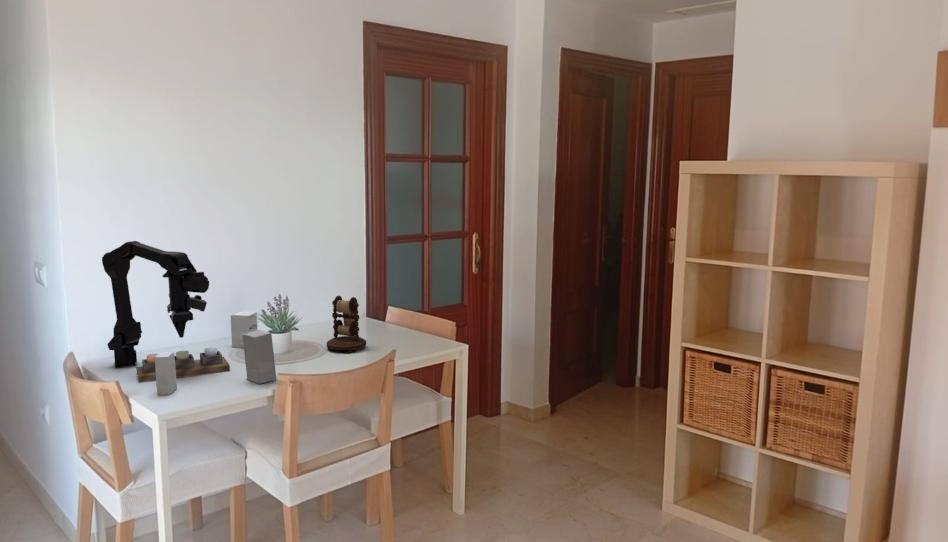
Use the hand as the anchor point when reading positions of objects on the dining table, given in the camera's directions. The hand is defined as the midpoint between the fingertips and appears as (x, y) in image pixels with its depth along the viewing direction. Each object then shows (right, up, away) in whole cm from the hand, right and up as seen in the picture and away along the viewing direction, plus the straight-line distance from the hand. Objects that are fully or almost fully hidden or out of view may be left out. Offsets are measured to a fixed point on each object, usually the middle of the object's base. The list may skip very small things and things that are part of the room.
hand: (181, 337), depth 247 cm
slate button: (+8, -7, +5) cm, 12 cm away
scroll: (+50, -7, +32) cm, 59 cm away
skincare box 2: (+28, -14, -7) cm, 32 cm away
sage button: (0, -8, +1) cm, 8 cm away
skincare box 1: (+3, -15, -19) cm, 24 cm away
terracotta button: (-8, -9, -3) cm, 12 cm away
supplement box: (+10, -7, +36) cm, 38 cm away
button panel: (0, -12, +2) cm, 12 cm away
